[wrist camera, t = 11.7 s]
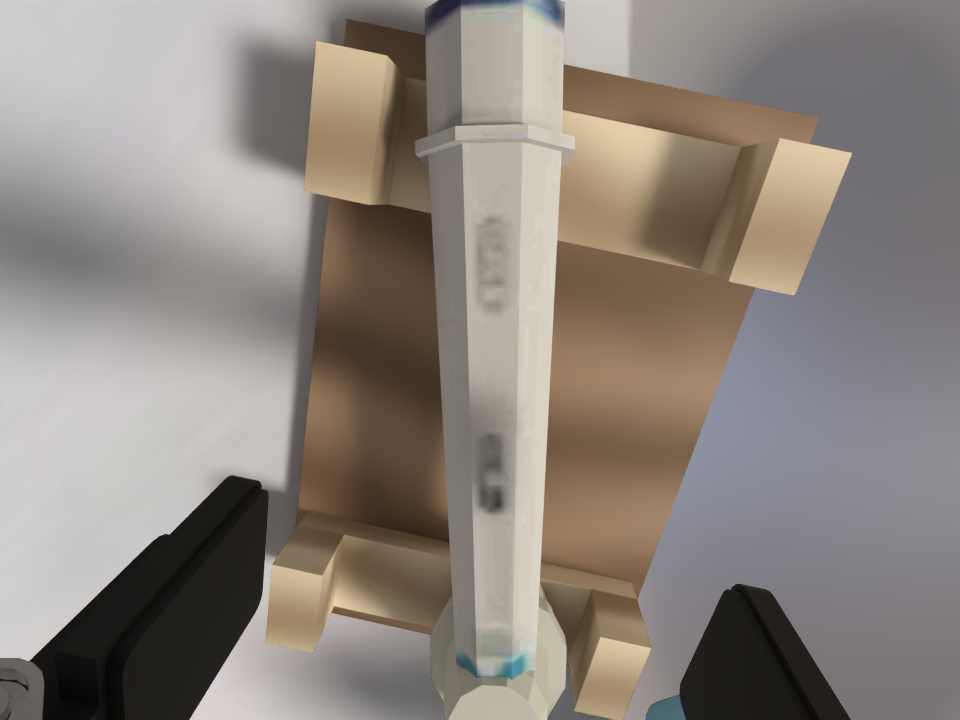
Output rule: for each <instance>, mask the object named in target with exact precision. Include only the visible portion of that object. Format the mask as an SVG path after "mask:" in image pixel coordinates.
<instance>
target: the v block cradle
mask: <svg viewBox="0 0 960 720" xmlns="http://www.w3.org/2000/svg"><path fill="white" fill-rule="evenodd" d="M818 120H819V118H817V117H812V116H807V115H802V114H797V113H793V112H788V111H783V110H779V109H774V108H769V107H764V106H759V105H755V104H749V103H745V102H740V101H735V100H731V99H726V98H721V97H716V96H711V95H707V94H702V93H697V92H692V91H688V90H683V89H678V88H673V87H669V86H664V85H659V84H654V83H650V82H645V81H640V80H635V79H630V78H626V77H621V76H616V75H611V74H607V73H602V72H597V71H592V70H587V69H583V68H578V67H573V66H568V65H564V67H563V115H562V133H563V134H567V135H571V136H574V137H575V150H574V152H573V155H572V157H571V159H570V161H569V163H568V164H567V165H563V166H561V176H560V195H559V215H558V235H557V254H556V274H555V293H554V313H553V333H552V352H551V372H550V391H549V411H548V430H547V450H546V470H545V489H544V509H543V528H542V548H541V568H540V585H541V587H542V589H543V591H544V593H545V595H546V597H547V599H548V601H549V603H550V605H553V613H554V615H555V617H556V619H557V621H558V623H559V625H560V627H561V629H562V631H563V633H564V635H565V640H566V648H567V652H566V665H569V669H570V679H571V688H572V697H573V707H574V711H577V712H581V713H586V714H590V715H595V716H599V717H604V718H608V719H613V720H623V717H624V715H625V712H626V710H627V707H628V705H629V702H630V700H631V697H632V695H633V692H634V690H635V688H636V685H637V683H638V680H639V678H640V675H641V673H642V670H643V668H644V665H645V663H646V661H647V658H648V656H649V653H650V650H651V645H650V642H649V639H648V635H647V632H646V628H645V625H644V622H643V618H642V615H641V612H640V608H639V605H638V601H637V599H638V596H639V593H640V591H641V588H642V585H643V583H644V580H645V577H646V575H647V572H648V570H649V567H650V564H651V562H652V559H653V556H654V554H655V551H656V548H657V546H658V543H659V540H660V538H661V535H662V532H663V529H664V527H665V524H666V522H667V519H668V516H669V514H670V511H671V508H672V506H673V503H674V501H675V498H676V495H677V493H678V490H679V487H680V485H681V482H682V479H683V477H684V474H685V472H686V469H687V466H688V464H689V461H690V458H691V456H692V453H693V450H694V448H695V445H696V443H697V440H698V437H699V435H700V432H701V429H702V427H703V424H704V421H705V418H706V416H707V413H708V411H709V408H710V405H711V403H712V400H713V398H714V395H715V392H716V390H717V387H718V384H719V382H720V379H721V376H722V373H723V371H724V369H725V366H726V363H727V361H728V358H729V355H730V353H731V350H732V347H733V345H734V342H735V339H736V337H737V334H738V332H739V329H740V326H741V323H742V321H743V318H744V316H745V313H746V310H747V307H748V305H749V302H750V300H751V297H752V295H753V292H754V289H755V287H757V288H762V289H767V290H771V291H776V292H781V293H785V294H790V295H795V293H796V290H797V288H798V286H799V283H800V281H801V278H802V276H803V273H804V271H805V268H806V266H807V263H808V261H809V258H810V256H811V253H812V251H813V249H814V246H815V244H816V241H817V239H818V236H819V234H820V231H821V229H822V226H823V224H824V221H825V219H826V216H827V214H828V212H829V209H830V207H831V204H832V202H833V199H834V197H835V194H836V192H837V189H838V187H839V184H840V182H841V179H842V177H843V174H844V172H845V170H846V167H847V165H848V162H849V160H850V157H851V155H852V153H848V152H844V151H839V150H834V149H829V148H825V147H820V146H815V145H811V144H810V141H811V138H812V136H813V133H814V131H815V127H816V125H817V122H818ZM427 136H428V129H427V83H426V38H425V35H420V34H415V33H411V32H406V31H401V30H396V29H392V28H387V27H382V26H377V25H372V24H368V23H363V22H358V21H353V20H349V19H347V20H346V30H345V40H344V46H339V45H334V44H329V43H325V42H320V41H316V50H315V62H314V74H313V86H312V98H311V110H310V121H309V133H308V145H307V157H306V169H305V181H304V191H306V192H311V193H315V194H320V195H325V196H329V200H328V210H327V220H326V230H325V240H324V250H323V260H322V270H321V280H320V290H319V300H318V310H317V320H316V330H315V340H314V350H313V360H312V370H311V380H310V390H309V400H308V410H307V420H306V430H305V440H304V450H303V460H302V470H301V480H300V490H299V500H298V510H297V520H296V530H295V532H294V533H293V535H292V536H291V538H290V539H289V540H288V542H287V543H286V545H285V546H284V548H283V549H282V551H281V552H280V554H279V555H278V557H277V558H276V560H275V561H274V563H273V564H272V571H271V583H270V595H269V607H268V619H267V630H266V643H270V644H275V645H279V646H284V647H288V648H293V649H297V650H302V651H306V652H311V653H313V651H314V649H315V647H316V645H317V642H318V640H319V638H320V636H321V634H322V631H323V629H324V627H325V625H326V623H327V621H328V618H329V616H330V614H331V613H335V614H339V615H344V616H348V617H353V618H357V619H362V620H366V621H371V622H375V623H380V624H384V625H389V626H394V627H398V628H403V629H407V630H412V631H416V632H421V633H425V634H430V635H432V633H433V629H434V627H435V626H436V624H437V622H438V620H439V618H440V616H441V614H442V612H443V610H444V608H445V606H446V604H447V603H448V601H449V599H450V597H452V596H453V595H452V577H451V559H450V541H449V523H448V505H447V487H446V469H445V451H444V433H443V415H442V397H441V379H440V361H439V343H438V325H437V307H436V289H435V271H434V253H433V235H432V217H431V198H430V180H429V168H427V167H426V166H425V165H424V163H423V162H422V161H421V160H420V159H419V158H418V156H417V155H416V154H415V141H416V140H419V139H422V138H424V137H427Z"/></svg>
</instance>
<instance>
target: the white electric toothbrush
mask: <svg viewBox="0 0 960 720" xmlns="http://www.w3.org/2000/svg"><path fill="white" fill-rule="evenodd" d="M564 18H565V3H564V2H562V1H560V0H438V1H436V2H435V3H433V4H432V5H431V6H429V7H428V8H426V9H425V38H426V83H427V129H428V136H427V137H424V138H422V139H419V140H416V141H415V154H416V155H417V156H418V158H419V159H420V160H421V161H422V162H423V163H424V165H425V166H426V167H427V168H429V180H430V198H431V217H432V235H433V253H434V271H435V289H436V307H437V325H438V343H439V361H440V379H441V397H442V415H443V433H444V451H445V469H446V487H447V505H448V523H449V541H450V559H451V577H452V595H453V596H452V597H450V599H449V601H448V603H447V604H446V606H445V608H444V610H443V612H442V614H441V616H440V618H439V620H438V622H437V624H436V626H435V627H434V629H433V633H432V637H431V680H432V681H433V683H434V685H435V687H436V689H437V691H438V692H439V694H440V696H441V698H442V700H443V701H444V720H547V717H548V716H549V714H550V712H551V711H552V709H553V707H554V706H555V704H556V702H557V701H558V699H559V697H560V696H561V694H562V692H563V691H564V689H565V687H566V652H567V648H566V640H565V635H564V633H563V631H562V629H561V627H560V625H559V623H558V621H557V619H556V617H555V615H554V613H553V605H550V603H549V601H548V599H547V597H546V595H545V593H544V591H543V589H542V587H541V585H540V568H541V548H542V528H543V509H544V489H545V470H546V450H547V430H548V411H549V391H550V372H551V352H552V333H553V313H554V293H555V274H556V254H557V235H558V215H559V195H560V176H561V166H563V165H567V164H568V163H569V161H570V159H571V157H572V155H573V152H574V150H575V137H574V136H571V135H567V134H563V133H562V115H563V67H564Z"/></svg>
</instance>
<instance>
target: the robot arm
mask: <svg viewBox="0 0 960 720" xmlns="http://www.w3.org/2000/svg"><path fill="white" fill-rule="evenodd" d="M268 498H269V496H268V491H266V490H262V488H261V483H260V482H259V481H256V480H251V479H247V478H242V477H237V476H233V475H232V476H229V477H227V478H226V479H225V480H224V481H223V482H222V483H221V484H220V485H219V486H218V487H217V488H216V489H215V490H214V491H213V492H212V493H211V494H210V495H209V496H208V497H207V498H206V499H205V500H204V501H203V502H202V503H201V504H200V505H199V506H198V507H197V508H196V509H195V510H194V511H193V512H192V513H191V514H190V515H189V516H188V517H187V518H186V519H185V520H184V521H183V522H182V523H181V524H180V525H179V526H178V527H177V528H176V529H175V530H174V531H173V532H172V533H171V534H170V535H168V534H164V535H162V536H159V537H158V538H157V539H155V540H154V541H153V542H152V543H151V544H149V545H148V546H147V547H146V548H145V549H144V550H143V551H142V552H141V553H140V554H139V555H138V556H137V557H136V558H135V559H134V560H133V561H132V562H131V563H130V564H129V565H128V566H127V567H126V568H125V569H124V570H123V571H122V572H121V573H120V574H119V575H118V576H117V577H116V578H114V579H113V580H112V581H111V582H110V583H109V584H108V585H107V586H106V587H105V588H104V589H103V590H102V591H101V592H100V593H99V594H98V595H97V596H96V597H95V598H94V599H93V600H92V601H91V602H90V603H89V604H88V605H87V606H86V607H85V608H84V609H83V610H82V611H80V612H79V613H78V614H77V615H76V616H75V617H74V618H73V619H72V620H71V621H70V622H69V623H68V624H67V625H66V626H65V627H64V628H63V629H62V630H61V631H60V632H59V633H58V634H57V635H56V636H55V637H54V638H53V639H52V640H51V641H50V642H49V643H48V644H47V645H45V646H44V647H43V648H42V649H41V650H40V651H39V652H38V653H37V654H36V655H35V656H34V657H33V658H32V659H31V660H30V661H26V660H23V659H20V658H0V720H189V719H190V718H191V716H192V714H193V713H194V711H195V709H196V708H197V706H198V705H199V703H200V701H201V700H202V698H203V697H204V695H205V693H206V692H207V690H208V688H209V687H210V685H211V684H212V682H213V680H214V679H215V677H216V675H217V674H218V672H219V671H220V669H221V667H222V666H223V664H224V662H225V661H226V659H227V658H228V656H229V654H230V653H231V651H232V650H233V648H234V646H235V645H236V643H237V641H238V640H239V638H240V637H241V635H242V633H243V632H244V630H245V628H246V627H247V625H248V624H249V622H250V620H251V619H252V617H253V615H254V614H255V612H256V610H257V608H258V606H259V603H260V600H261V597H262V591H263V576H264V560H265V545H266V529H267V513H268ZM680 702H681V706H682V709H683V712H684V715H685V718H686V720H851V719H850V718H849V716H848V715H847V713H846V711H845V710H844V708H843V706H842V705H841V703H840V702H839V700H838V699H837V697H836V695H835V694H834V692H833V690H832V689H831V687H830V686H829V684H828V683H827V681H826V679H825V678H824V676H823V674H822V673H821V672H820V670H819V668H818V667H817V665H816V663H815V662H814V660H813V658H812V657H811V655H810V654H809V652H808V650H807V649H806V647H805V646H804V644H803V642H802V641H801V639H800V637H799V636H798V634H797V633H796V631H795V629H794V628H793V626H792V625H791V623H790V621H789V620H788V618H787V617H786V616H785V614H784V612H783V610H782V609H781V607H780V605H779V604H778V602H777V601H776V599H775V597H774V596H773V595H772V593H771V592H769V591H768V590H766V589H761V588H756V587H752V586H747V585H742V584H736V585H735V586H733V587H732V589H731V590H725V591H724V592H723V594H722V596H721V598H720V600H719V602H718V605H717V607H716V609H715V611H714V613H713V615H712V617H711V620H710V622H709V624H708V626H707V628H706V630H705V632H704V634H703V637H702V639H701V641H700V643H699V645H698V647H697V649H696V651H695V654H694V656H693V658H692V660H691V662H690V664H689V666H688V669H687V671H686V673H685V675H684V677H683V679H682V682H681V684H680Z"/></svg>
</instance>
